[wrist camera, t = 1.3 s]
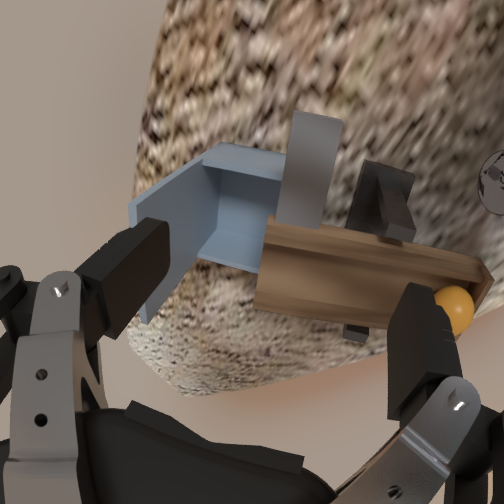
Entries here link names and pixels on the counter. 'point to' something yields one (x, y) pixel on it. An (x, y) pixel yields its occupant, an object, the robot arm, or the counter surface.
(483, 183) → the wine glass
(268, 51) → the counter surface
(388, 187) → the lever stand
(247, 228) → the grey-blue open bin
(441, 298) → the ball
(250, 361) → the counter surface
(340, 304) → the lever
